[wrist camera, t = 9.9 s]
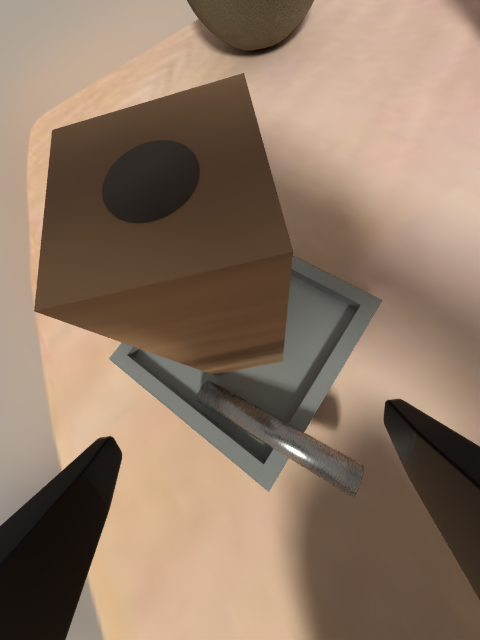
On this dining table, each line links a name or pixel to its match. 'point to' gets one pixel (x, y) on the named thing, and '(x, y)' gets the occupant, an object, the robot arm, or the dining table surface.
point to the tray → (267, 370)
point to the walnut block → (169, 231)
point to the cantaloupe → (251, 20)
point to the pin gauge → (284, 438)
